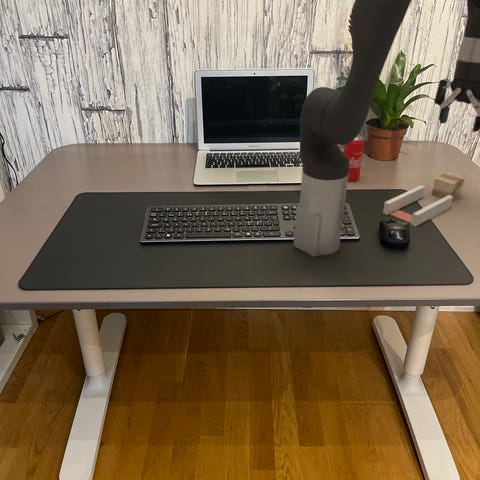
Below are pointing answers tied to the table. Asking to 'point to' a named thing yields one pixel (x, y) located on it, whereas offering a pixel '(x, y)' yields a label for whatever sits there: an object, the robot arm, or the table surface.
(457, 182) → the maple block
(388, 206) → the channel
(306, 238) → the robot arm
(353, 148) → the beverage can
